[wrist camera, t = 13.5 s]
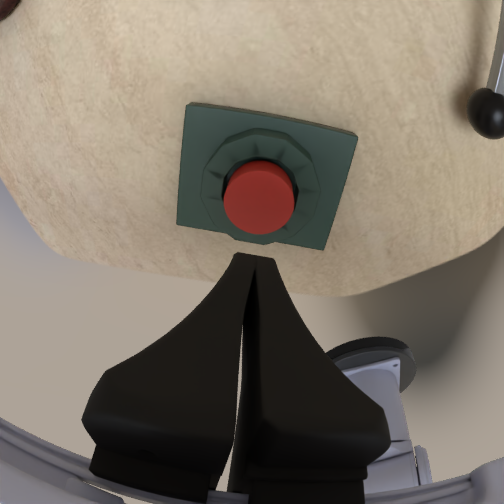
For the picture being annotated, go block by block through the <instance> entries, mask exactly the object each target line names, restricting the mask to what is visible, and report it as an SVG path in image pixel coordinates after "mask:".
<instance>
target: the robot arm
mask: <svg viewBox="0 0 504 504" xmlns="http://www.w3.org/2000/svg"><path fill="white" fill-rule="evenodd" d="M242 326H243V339H242V342H243V343H242V381H241V392H240V393H241V394H240V400H239V408H238V416H237V424H236V410H237V391H238V374H239V360H240V346H241V335H242ZM399 385H400V359H399V357H394V358H390V359H386V360H383V361H379V362H375V363H371V364H367V365H363V366H359V367H354V368H350V369H345V370H340V369H339V368H338V367H337V366H336V365H335V363H334V362H333V361H332V360H331V359H330V358H329V357H328V355H327V354H326V353H325V352H324V351H323V349H322V348H321V347H320V345H319V344H318V343H317V341H316V340H315V338H314V337H313V336H312V334H311V333H310V331H309V330H308V328H307V327H306V325H305V324H304V322H303V320H302V318H301V317H300V315H299V313H298V311H297V310H296V308H295V306H294V304H293V302H292V300H291V298H290V296H289V294H288V292H287V290H286V288H285V285H284V283H283V281H282V278H281V276H280V273H279V270H278V268H277V265H276V262H275V260H274V259H273V258H268V257H263V256H257V255H251V254H245V253H240V252H237V253H236V254H234V256H233V259H232V261H231V263H230V265H229V266H228V268H227V269H226V271H225V273H224V274H223V276H222V277H221V278H220V280H219V281H218V282H217V284H216V285H215V286H214V288H213V289H212V290H211V291H210V293H209V294H208V295H207V296H206V297H205V298H204V299H203V301H202V302H201V303H200V304H199V305H198V306H197V307H196V308H195V309H194V310H193V311H192V312H191V313H190V314H189V315H188V316H187V317H186V318H184V320H183V321H181V322H180V323H179V324H178V325H176V326H175V327H174V328H173V329H172V330H170V331H169V332H168V333H167V334H165V335H164V336H163V337H161V338H160V339H158V340H157V341H155V342H154V343H153V344H151V345H150V346H148V347H147V348H145V349H144V350H142V351H141V352H139V353H138V354H136V355H134V356H132V357H130V358H129V359H127V360H125V361H123V362H121V363H119V364H117V365H116V366H114V367H112V368H110V369H108V370H106V371H105V373H104V374H103V375H102V377H101V378H100V380H99V381H98V383H97V385H96V386H95V388H94V390H93V391H92V393H91V396H90V397H89V400H88V403H87V405H86V408H85V411H84V413H83V416H82V419H81V420H82V423H83V425H84V427H85V429H86V431H87V432H88V433H89V435H90V436H91V438H92V439H93V441H94V442H95V443H96V447H95V451H94V454H93V457H92V460H91V459H89V458H86V457H83V456H81V455H78V454H75V453H73V452H70V451H68V450H66V449H63V448H61V447H58V446H56V445H54V444H52V443H49V442H47V441H45V440H43V439H41V438H38V437H37V436H35V435H32V434H30V433H28V432H26V431H25V430H23V429H20V428H19V427H17V426H15V425H13V424H11V423H9V422H7V421H6V420H4V419H2V418H0V503H1V504H125V503H124V501H123V499H122V498H121V497H118V496H116V495H113V494H110V493H108V492H105V491H103V490H101V489H98V488H96V487H94V486H91V485H89V484H92V485H95V486H97V487H100V488H103V489H106V490H109V491H112V492H115V493H118V494H121V495H125V496H128V497H131V498H135V499H138V500H142V501H146V502H149V503H153V504H504V457H502V458H499V459H496V460H493V461H490V462H488V463H486V464H483V465H481V466H480V467H478V468H476V469H475V470H473V471H472V472H471V473H469V474H466V475H462V476H459V477H455V478H451V479H447V480H443V481H439V482H435V483H432V477H431V471H430V465H429V460H428V456H427V452H426V449H425V448H422V447H421V446H420V445H418V446H415V447H414V448H415V453H416V456H415V458H416V464H417V467H416V464H415V458H414V453H413V447H412V442H411V440H410V437H409V432H408V427H407V423H406V418H405V413H404V409H403V405H402V400H401V396H400V392H399ZM235 425H236V431H235ZM234 434H235V439H234ZM233 442H234V446H233ZM232 446H233V453H232V460H231V467H230V474H229V480H228V487H227V492H223V491H216V487H217V484H218V481H219V479H220V476H222V473H223V471H224V468H225V465H226V463H227V460H228V457H229V455H230V452H231V449H232ZM85 482H86V483H85ZM87 483H89V484H87Z"/></svg>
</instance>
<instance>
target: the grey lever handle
mask: <svg viewBox="0 0 504 504" xmlns="http://www.w3.org/2000/svg"><path fill="white" fill-rule="evenodd" d="M467 116H468V119H469V122H470V124H471V125H472V127H473V128H474V130H475V131H476V132H477V133H479V134H480V135H481V136H483V137H485V138H488V139H500V138H503V137H504V0H502V6H501V14H500V21H499V28H498V34H497V40H496V45H495V51H494V56H493V60H492V65H491V69H490V74H489V78H488V82H487V86H486V88H480V89H478V90H476V91H474V92H473V93H472V94H471V96H470V97H469V99H468V102H467Z"/></svg>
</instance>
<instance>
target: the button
mask: <svg viewBox="0 0 504 504" xmlns="http://www.w3.org/2000/svg"><path fill="white" fill-rule="evenodd" d="M224 208H225V212H226V214H227V216H228V218H229V219H230V221H231V222H232V223H233V224H234V225H235V226H237V227H238V228H239V229H241V230H243V231H245V232H248V233H252V234H267V233H271V232H274V231H276V230H278V229H280V228H281V227H283V226H284V225H285V224H286V223H287V222H288V220H289V219H290V217H291V215H292V213H293V209H294V196H293V188H292V183H291V180H290V178H289V176H288V175H287V173H286V172H285V171H284V170H283V169H282V168H281V167H279V166H278V165H276V164H274V163H271V162H268V161H251V162H248V163H246V164H244V165H242V166H240V167H239V168H238V169H237V170H236V171H235V172H234V173H233V174H232V176H231V178H230V180H229V183H228V186H227V189H226V191H225V195H224Z"/></svg>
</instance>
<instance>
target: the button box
mask: <svg viewBox="0 0 504 504" xmlns="http://www.w3.org/2000/svg"><path fill="white" fill-rule="evenodd" d="M357 141H358V136H357V135H355V134H354V133H353V132H349V131H346V130H342V129H338V128H334V127H330V126H326V125H322V124H317V123H313V122H309V121H304V120H299V119H295V118H290V117H285V116H280V115H275V114H269V113H264V112H258V111H252V110H246V109H239V108H233V107H225V106H218V105H210V104H202V103H189V104H187V105H186V110H185V120H184V129H183V139H182V150H181V161H180V174H179V188H178V204H177V222H176V224H177V225H180V226H186V227H192V228H198V229H204V230H210V231H216V232H222V233H227V234H228V235H229V236H231V237H232V238H234V239H235V240H239V241H244V242H250V243H256V244H262V245H265V244H270V243H273V242H279V243H284V244H290V245H295V246H301V247H307V248H312V249H318V250H324V248H325V245H326V242H327V239H328V236H329V233H330V230H331V227H332V224H333V221H334V218H335V214H336V211H337V208H338V205H339V202H340V199H341V195H342V192H343V189H344V186H345V182H346V179H347V175H348V172H349V169H350V165H351V162H352V158H353V155H354V151H355V148H356V144H357ZM251 161H268V162H271V163H274V164H276V165H278V166H279V167H281V168H282V169H283V170H284V171H285V172H286V173H287V175H288V176H289V178H290V180H291V183H292V188H293V196H294V209H293V213H292V215H291V217H290V219H289V220H288V222H287V223H286V224H285V225H284V226H283V227H281V228H280V229H278V230H276V231H274V232H271V233H267V234H252V233H248V232H245V231H243V230H241V229H239V228H238V227H237V226H235V225H234V224H233V223H232V222H231V221H230V219H229V218H228V216H227V214H226V212H225V208H224V195H225V191H226V189H227V186H228V183H229V180H230V178H231V176H232V174H233V173H234V172H235V171H236V170H237V169H238V168H239V167H240V166H242V165H244V164H246V163H248V162H251Z"/></svg>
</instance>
